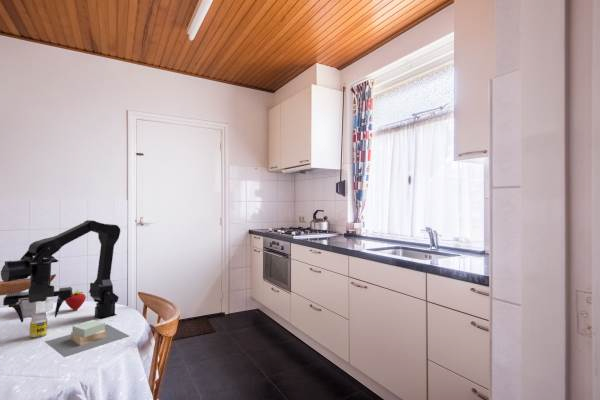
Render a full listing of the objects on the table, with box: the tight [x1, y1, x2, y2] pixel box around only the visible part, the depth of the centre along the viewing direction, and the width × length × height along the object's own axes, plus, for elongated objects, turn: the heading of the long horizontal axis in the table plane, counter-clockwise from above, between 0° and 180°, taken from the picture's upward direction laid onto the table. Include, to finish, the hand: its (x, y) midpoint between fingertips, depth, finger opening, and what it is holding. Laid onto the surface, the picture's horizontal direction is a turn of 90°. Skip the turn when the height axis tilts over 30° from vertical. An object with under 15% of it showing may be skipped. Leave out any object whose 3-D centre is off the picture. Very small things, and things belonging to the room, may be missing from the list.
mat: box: [44, 323, 130, 358], centre depth 111 cm, size 20×18×1 cm
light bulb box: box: [20, 284, 54, 317], centre depth 137 cm, size 11×7×11 cm, turn 5°
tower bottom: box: [70, 330, 106, 346], centre depth 111 cm, size 8×8×2 cm
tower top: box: [71, 319, 106, 337], centre depth 111 cm, size 7×7×2 cm
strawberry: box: [64, 289, 87, 312], centre depth 140 cm, size 6×8×10 cm
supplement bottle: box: [29, 312, 48, 340], centre depth 112 cm, size 5×5×8 cm
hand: (39, 319), depth 112 cm, fingers open, 9 cm apart
